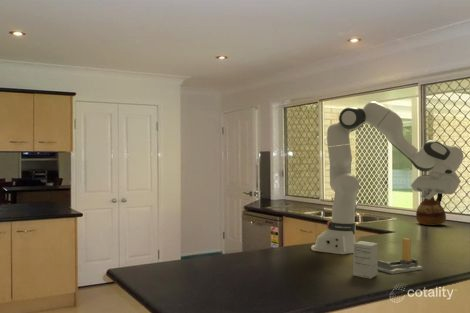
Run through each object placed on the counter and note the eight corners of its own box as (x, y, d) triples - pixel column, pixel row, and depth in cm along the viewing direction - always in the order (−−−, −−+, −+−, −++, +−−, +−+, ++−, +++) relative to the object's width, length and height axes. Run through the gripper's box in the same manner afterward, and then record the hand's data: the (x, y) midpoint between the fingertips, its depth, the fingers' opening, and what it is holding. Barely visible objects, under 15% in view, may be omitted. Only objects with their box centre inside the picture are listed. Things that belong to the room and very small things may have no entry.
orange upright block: (406, 263, 184) (406, 237, 184) (412, 265, 181) (412, 239, 181) (399, 264, 182) (400, 238, 182) (405, 266, 179) (406, 239, 179)
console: (403, 264, 188) (403, 256, 188) (422, 269, 179) (422, 260, 179) (373, 268, 180) (373, 259, 180) (391, 274, 171) (392, 264, 171)
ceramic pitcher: (410, 223, 322) (411, 183, 323) (432, 222, 328) (432, 183, 329) (429, 227, 304) (430, 184, 304) (452, 226, 310) (452, 185, 310)
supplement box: (360, 271, 173) (360, 240, 173) (378, 275, 168) (378, 243, 168) (352, 275, 167) (353, 243, 167) (370, 279, 163) (371, 245, 163)
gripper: (417, 170, 200) (402, 191, 195) (458, 171, 182) (442, 194, 177) (423, 179, 202) (409, 200, 198) (464, 181, 184) (449, 205, 179)
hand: (425, 198), depth 187 cm, fingers closed
